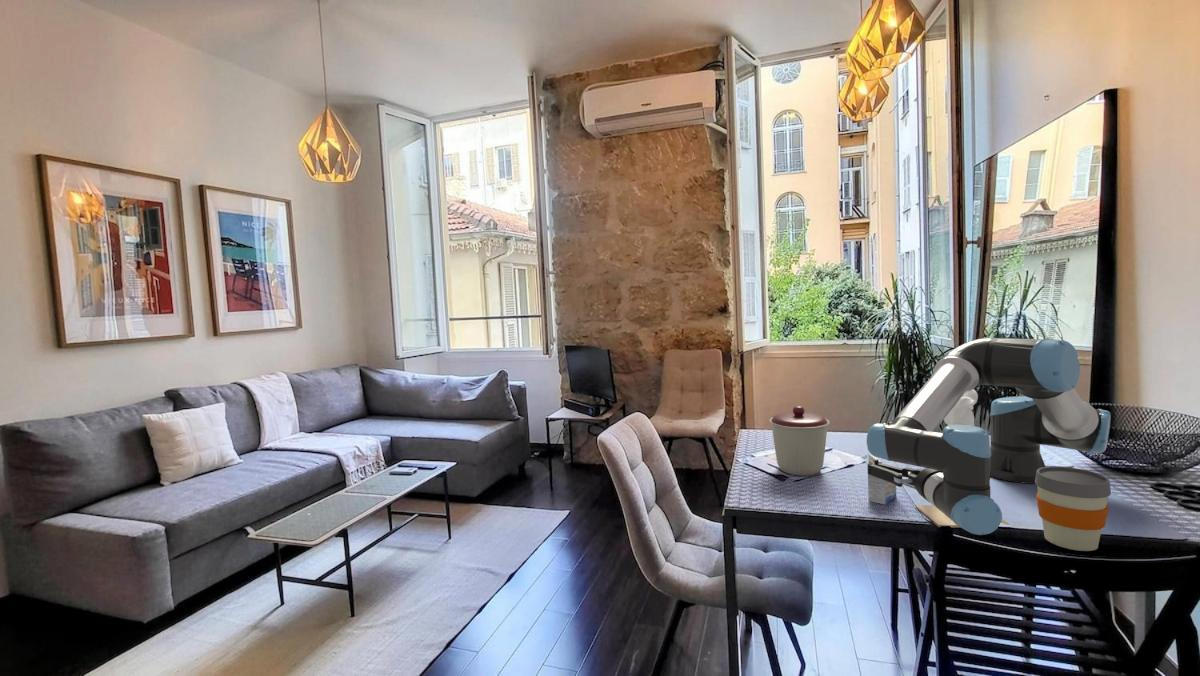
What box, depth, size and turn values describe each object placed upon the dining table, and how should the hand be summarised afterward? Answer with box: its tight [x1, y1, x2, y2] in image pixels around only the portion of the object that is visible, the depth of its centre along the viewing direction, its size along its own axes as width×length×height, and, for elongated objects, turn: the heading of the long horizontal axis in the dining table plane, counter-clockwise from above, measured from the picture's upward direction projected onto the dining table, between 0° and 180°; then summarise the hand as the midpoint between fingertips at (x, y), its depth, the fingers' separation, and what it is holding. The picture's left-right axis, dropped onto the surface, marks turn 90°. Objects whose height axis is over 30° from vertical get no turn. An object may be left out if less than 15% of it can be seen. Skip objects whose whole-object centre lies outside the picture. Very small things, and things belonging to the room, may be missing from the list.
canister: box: [768, 405, 830, 477], centre depth 173 cm, size 18×18×21 cm
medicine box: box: [867, 473, 897, 506], centre depth 147 cm, size 8×4×9 cm, turn 131°
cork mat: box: [915, 504, 1010, 529], centre depth 134 cm, size 16×12×1 cm
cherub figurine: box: [943, 389, 979, 426], centre depth 187 cm, size 12×12×22 cm
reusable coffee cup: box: [1034, 466, 1112, 552], centre depth 119 cm, size 13×13×15 cm
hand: (898, 458), depth 136 cm, fingers open, 13 cm apart
